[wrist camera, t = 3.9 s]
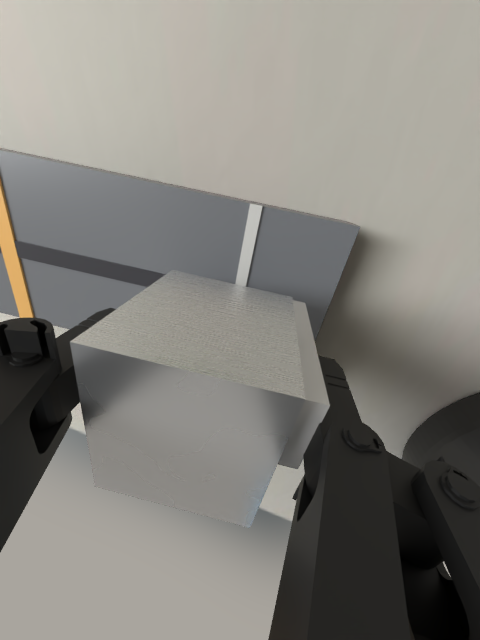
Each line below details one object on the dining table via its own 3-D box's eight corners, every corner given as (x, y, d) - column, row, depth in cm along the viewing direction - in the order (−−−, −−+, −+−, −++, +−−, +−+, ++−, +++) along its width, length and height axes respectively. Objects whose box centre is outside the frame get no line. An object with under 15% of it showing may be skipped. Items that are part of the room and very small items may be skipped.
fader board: (347, 221, 14) (361, 226, 11) (295, 361, 18) (298, 385, 16) (-50, 137, 15) (-111, 126, 12) (-3, 290, 19) (-41, 303, 17)
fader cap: (288, 267, 13) (305, 399, 4) (265, 346, 15) (249, 527, 7) (203, 248, 13) (69, 341, 5) (194, 329, 15) (95, 486, 7)
